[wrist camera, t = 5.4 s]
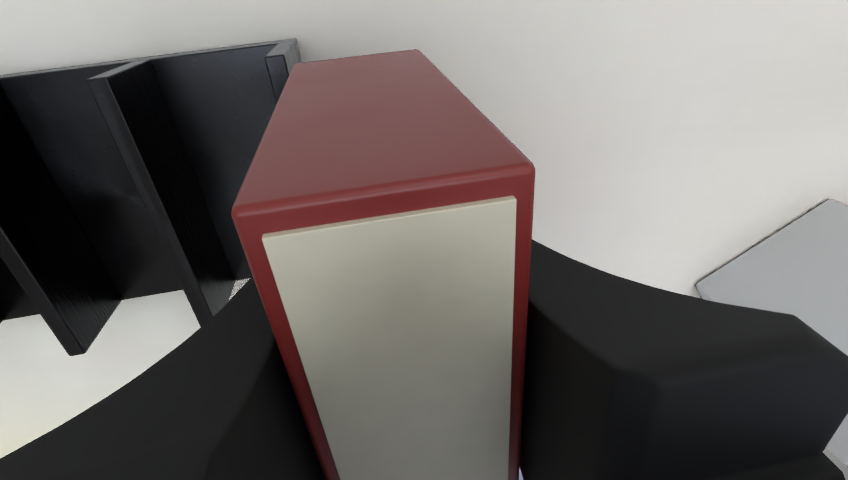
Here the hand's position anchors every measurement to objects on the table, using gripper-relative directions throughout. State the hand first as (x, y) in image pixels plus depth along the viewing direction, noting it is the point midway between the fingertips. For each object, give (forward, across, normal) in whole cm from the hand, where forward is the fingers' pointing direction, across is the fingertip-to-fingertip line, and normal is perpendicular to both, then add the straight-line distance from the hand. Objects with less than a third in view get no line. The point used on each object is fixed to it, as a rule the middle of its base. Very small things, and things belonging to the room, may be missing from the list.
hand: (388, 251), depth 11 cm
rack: (+10, +10, +1) cm, 14 cm away
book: (+2, 0, 0) cm, 2 cm away
